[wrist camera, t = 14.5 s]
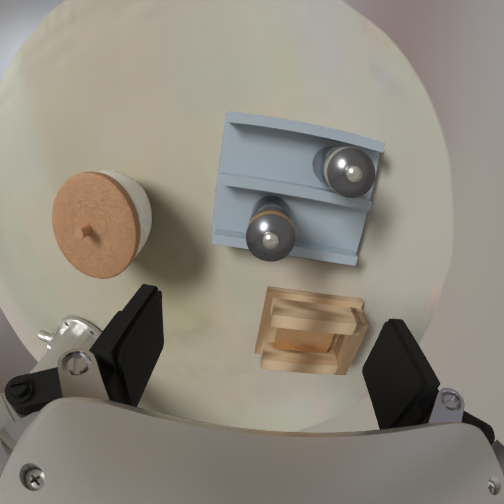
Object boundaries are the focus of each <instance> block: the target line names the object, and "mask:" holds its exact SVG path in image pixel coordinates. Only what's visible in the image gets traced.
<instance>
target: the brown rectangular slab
mask: <svg viewBox="0 0 504 504" xmlns="http://www.w3.org/2000/svg"><path fill="white" fill-rule="evenodd" d="M333 336H334V334H333V333H322V332H312V331H303V330H294V329H286V328H278V327H277V331H276V335H275V339H274V343H273V348H276V349H284V350H293V351H303V352H314V353H327V351H328V348H329V346H330V343H331V341H332V338H333Z"/></svg>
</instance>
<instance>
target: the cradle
mask: <svg viewBox="0 0 504 504" xmlns="http://www.w3.org/2000/svg"><path fill="white" fill-rule="evenodd" d="M362 305H363V301H362V299H358V298H350V297H342V296H334V295H326V294H318V293H311V292H303V291H296V290H289V289H282V288H275V287H267V292H266V297H265V302H264V307H263V312H262V317H261V322H260V327H259V332H258V337H257V342H256V346H255V353H258V354H261V368H263V369H271V370H280V371H290V372H302V373H315V374H333V375H346V373H347V371H348V369H349V367H350V365H351V363H352V361H353V359H354V357H355V355H356V353H357V351H358V349H359V346H360V344H361V342H362V340H363V338H364V336H365V333H366V331H367V329H368V327H369V324H368V322H367V319H366V317H365V315H364V313H363V311H362V309H361V308H362ZM277 327H278V328H286V329H294V330H303V331H312V332H322V333H333V334H334V336H333V338H332V341H331V343H330V346H329V348H328V351H327V353H314V352H303V351H293V350H284V349H276V348H273V343H274V339H275V335H276V331H277Z"/></svg>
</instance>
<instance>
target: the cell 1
mask: <svg viewBox="0 0 504 504" xmlns="http://www.w3.org/2000/svg"><path fill="white" fill-rule="evenodd" d="M246 244H247V246H248V248H249V250H250V252H251V253H252V254H253V255H254V256H256V257H257V258H259V259H261V260H264V261H277V260H280V259H282V258H284V257H286V256H287V255H288V254H289V253H290V252H291V251H292V249H293V247H294V244H295V230H294V226H293V224H292V220H291V216H290V212H289V208H288V206H287V204H286V203H285V201H284V200H282V199H281V198H279V197H277V196H265V197H262V198H261V199H259V200H258V201H257V202H256V203H255V205H254V207H253V210H252V214H251V218H250V221H249V224H248V227H247V231H246Z"/></svg>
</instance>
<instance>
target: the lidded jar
mask: <svg viewBox="0 0 504 504" xmlns="http://www.w3.org/2000/svg"><path fill="white" fill-rule="evenodd" d="M52 223H53V230H54V234H55V238H56V240H57V243H58V245H59V247H60V249H61V251H62V253H63V254H64V256H65V257H66V259H67V260H68V261H69V262H70V263H71V264H72V265H73V266H74V267H75V268H76V269H78V270H79V271H81V272H82V273H84V274H86V275H88V276H91V277H94V278H100V279H105V278H111V277H114V276H117V275H119V274H120V273H121V272H123V271H124V270H125V269H126V268H127V267H128V266H129V265H130V264H131V263H132V261H133V259H134V258H135V257H136V256H137V255H138V254H139V253H140V251H141V250H142V248H143V246H144V245H145V243H146V241H147V239H148V236H149V234H150V230H151V224H152V210H151V205H150V202H149V199H148V197H147V194H146V192H145V191H144V189H143V188H142V187H141V186H140V184H139V183H138V182H137V181H135V180H134V179H133V178H131V177H130V176H128V175H126V174H124V173H121V172H118V171H112V170H98V171H92V172H84V173H80V174H77V175H74V176H73V177H71V178H69V179H68V180H67V181H66V182H65V183H64V184H63V185H62V186H61V188H60V190H59V191H58V193H57V196H56V198H55V201H54V205H53V212H52Z"/></svg>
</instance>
